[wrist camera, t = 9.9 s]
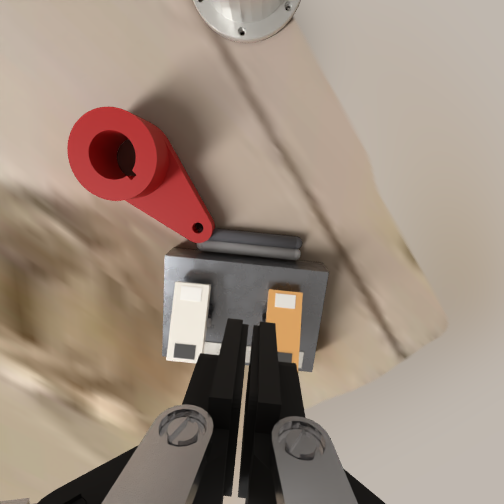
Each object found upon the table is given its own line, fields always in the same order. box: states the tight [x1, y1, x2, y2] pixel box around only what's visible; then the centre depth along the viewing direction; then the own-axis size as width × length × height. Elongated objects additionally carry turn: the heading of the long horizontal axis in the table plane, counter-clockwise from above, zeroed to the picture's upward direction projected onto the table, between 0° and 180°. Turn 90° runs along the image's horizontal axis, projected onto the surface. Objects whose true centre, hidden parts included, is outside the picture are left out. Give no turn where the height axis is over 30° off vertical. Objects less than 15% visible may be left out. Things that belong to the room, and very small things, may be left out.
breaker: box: [166, 281, 211, 363], centre depth 38 cm, size 9×5×2 cm, turn 175°
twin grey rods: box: [197, 227, 302, 260], centre depth 41 cm, size 3×14×2 cm, turn 85°
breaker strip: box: [162, 248, 329, 372], centre depth 41 cm, size 14×20×6 cm
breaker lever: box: [266, 289, 303, 371], centre depth 37 cm, size 9×5×2 cm
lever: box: [68, 107, 215, 243], centre depth 37 cm, size 18×9×7 cm, turn 43°
